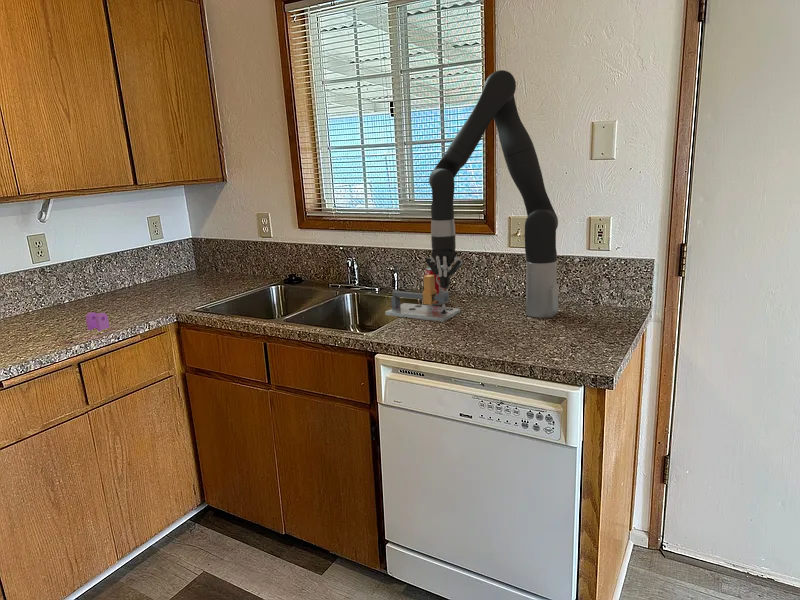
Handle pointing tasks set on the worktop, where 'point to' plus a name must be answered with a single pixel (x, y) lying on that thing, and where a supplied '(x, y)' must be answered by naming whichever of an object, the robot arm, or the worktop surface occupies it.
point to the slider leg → (429, 290)
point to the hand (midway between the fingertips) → (445, 287)
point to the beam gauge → (441, 298)
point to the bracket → (97, 321)
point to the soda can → (437, 284)
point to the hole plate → (423, 312)
